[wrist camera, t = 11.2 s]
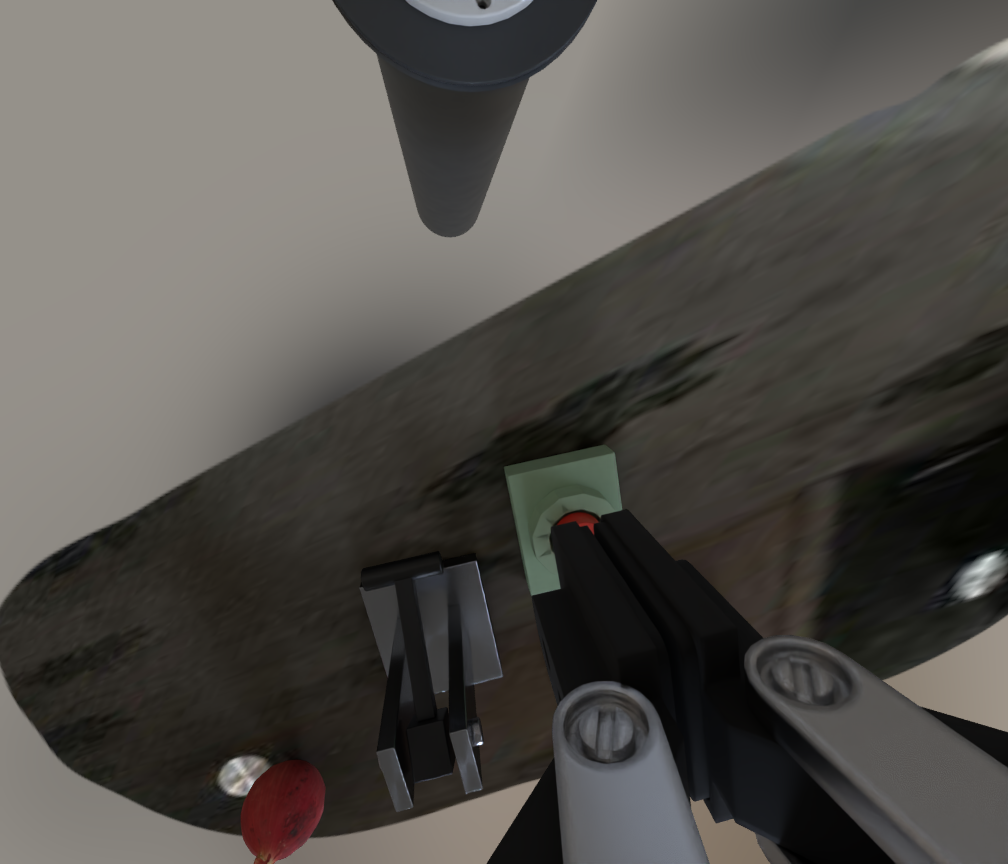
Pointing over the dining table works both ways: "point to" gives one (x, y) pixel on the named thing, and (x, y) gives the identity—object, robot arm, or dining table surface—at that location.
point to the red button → (580, 520)
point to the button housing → (558, 503)
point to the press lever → (417, 665)
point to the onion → (282, 810)
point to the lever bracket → (435, 668)
